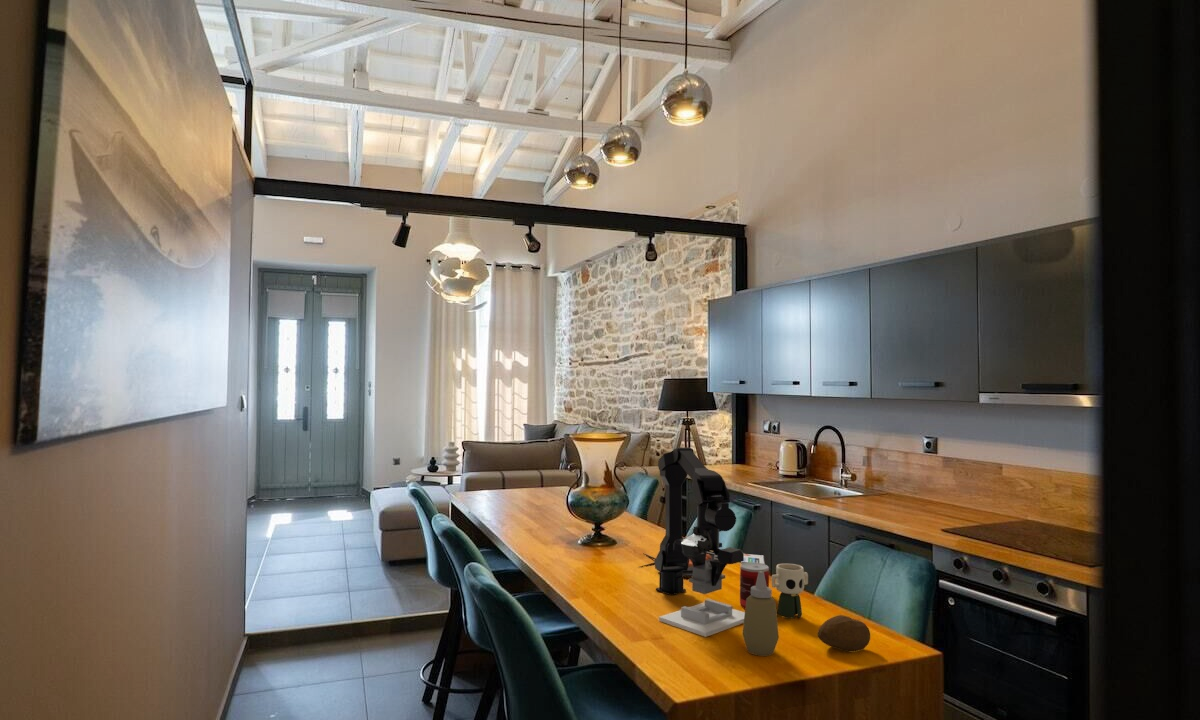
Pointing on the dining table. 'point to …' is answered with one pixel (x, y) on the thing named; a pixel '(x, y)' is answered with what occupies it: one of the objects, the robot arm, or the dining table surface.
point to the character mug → (789, 588)
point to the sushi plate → (690, 566)
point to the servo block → (704, 579)
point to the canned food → (750, 579)
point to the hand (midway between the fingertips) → (707, 583)
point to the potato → (844, 633)
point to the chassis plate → (705, 618)
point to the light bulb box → (753, 559)
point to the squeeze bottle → (760, 620)
